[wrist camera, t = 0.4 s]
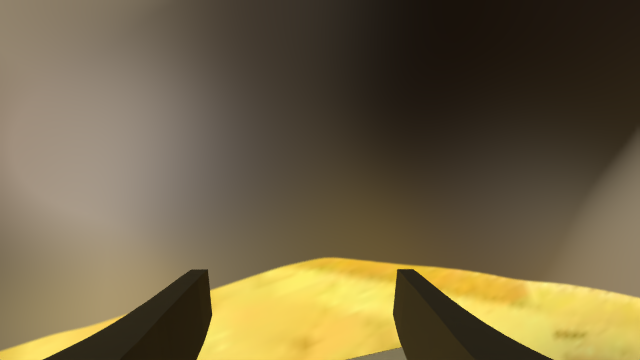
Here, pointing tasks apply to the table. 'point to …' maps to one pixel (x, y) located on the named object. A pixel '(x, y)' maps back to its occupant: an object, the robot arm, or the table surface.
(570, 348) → the table surface
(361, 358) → the desk pad
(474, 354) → the robot arm
